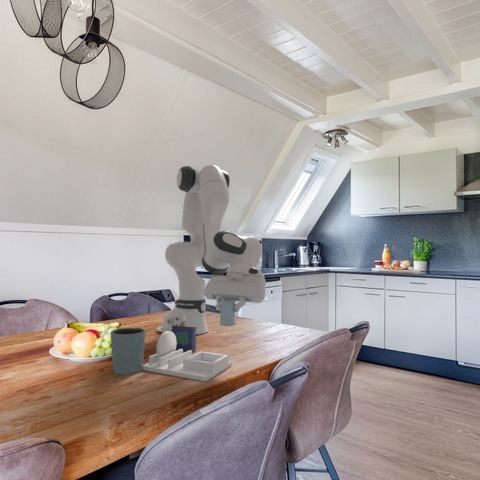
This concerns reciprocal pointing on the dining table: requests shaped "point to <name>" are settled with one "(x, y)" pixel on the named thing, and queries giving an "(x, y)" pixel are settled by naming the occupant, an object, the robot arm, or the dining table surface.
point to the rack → (185, 360)
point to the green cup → (127, 350)
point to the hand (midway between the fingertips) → (226, 309)
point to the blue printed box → (185, 336)
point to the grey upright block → (227, 313)
